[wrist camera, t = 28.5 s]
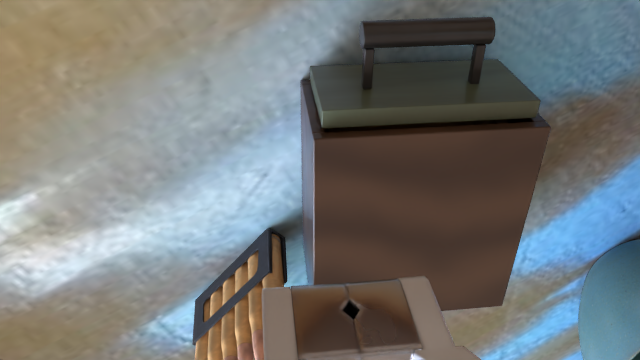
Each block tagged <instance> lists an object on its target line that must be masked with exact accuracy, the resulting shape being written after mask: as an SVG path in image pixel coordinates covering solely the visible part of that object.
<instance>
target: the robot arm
mask: <svg viewBox="0 0 640 360" xmlns="http://www.w3.org/2000/svg"><path fill="white" fill-rule="evenodd" d="M262 322H263V349H264V360H481V359H480V358H478V357H477V356H476V355H475V354H473V353H472V352H471V351H469V350H468V349H467V348H465V347H464V346H455V345H454V342H453V340H452V337H451V335H450V332H449V330H448V327H447V325H446V322H445V320H444V317H443V315H442V312H441V310H440V307H439V305H438V302H437V300H436V297H435V295H434V292H433V290H432V287H431V285H430V282H429V280H428V279H427V278H426V277H425V276H417V277H405V278H398V279H396V278H394V279H383V280H371V281H360V282H348V283H340V284H322V285H303V286H291V289H290V287H276V288H262Z"/></svg>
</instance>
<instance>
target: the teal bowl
mask: <svg viewBox="0 0 640 360" xmlns="http://www.w3.org/2000/svg"><path fill="white" fill-rule="evenodd" d="M578 330H579V340H580V347H581V352H582V356H583V360H640V239H638V240H633V241H629V242H626V243H623V244H621V245H619V246H617V247H615V248H613V249H611V250H610V251H608V252H607V253H605V254H604V255H603V256H602V257H600V258H599V259H598V260H597V261H596V262H595V264H594V265H593V266H592V268H591V269H590V271H589V273H588V275H587V277H586V279H585V282H584V286H583V289H582V294H581V299H580V305H579V314H578Z"/></svg>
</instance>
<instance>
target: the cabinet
mask: <svg viewBox="0 0 640 360" xmlns="http://www.w3.org/2000/svg"><path fill="white" fill-rule="evenodd" d="M506 120H507V121H508V123H502V124H483V125H464V126H444V127H425V128H405V129H386V130H367V131H347V132H328V133H325V130H324V128H322V127H321V123H320V119H319V115H318V111H317V107H316V103H315V99H314V95H313V91H312V87H311V83H310V80H301V142H302V211H303V250H304V257H305V264H306V272H307V279H308V285H322V284H340V283H348V282H360V281H371V280H383V279H394V278H396V279H398V278H405V277H417V276H425V277H426V278H427V279H428V280H429V282H430V285H431V287H432V290H433V292H434V295H435V297H436V300H437V302H438V305H439V307H440V310H441V311H446V310H458V309H470V308H481V307H493V306H502V304H503V300H504V297H505V293H506V289H507V286H508V282H509V278H510V275H511V271H512V268H513V264H514V260H515V257H516V253H517V249H518V246H519V242H520V238H521V235H522V231H523V228H524V224H525V220H526V217H527V213H528V209H529V206H530V202H531V199H532V195H533V191H534V188H535V184H536V180H537V177H538V173H539V170H540V166H541V162H542V159H543V155H544V151H545V148H546V144H547V141H548V137H549V133H550V130H551V126H550V125H549V124H548V123H547V122H545V120H544V119H543V118H542V117H541V116H540V115H539V114H538V113H537V117H536V118H518V119H506Z"/></svg>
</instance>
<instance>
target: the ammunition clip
mask: <svg viewBox="0 0 640 360" xmlns="http://www.w3.org/2000/svg"><path fill="white" fill-rule="evenodd" d="M286 282H287V263H286V245H285V237H283V236H281V235H280V234H278V233H276V232H275V231H273V230H271V229H266V230H265V231H264V232H263V233H262V234H261V235H260V236H259V237H258V238H257V239H256V240H255V241H254V242H253V243H252V244H251V245H250V246H249V247H248V248H247V249H246V250H245V251H244V252H243V253H242V254H241V255H240V256H239V257H238V258H237V259H236V260H235V261H234V262H233V263H232V264H231V265H230V266H229V267H228V268H227V269H226V270H225V271H224V272H223V273H222V274H221V275H220V276H219V277H218V278H217V279H216V280H215V281H214V282H213V283H212V284H211V285H210V286H209V287H208V288H207V289H206V290H205V291H204V292H203V293H202V294H201V295H200V296H199V297H198V298H197V299H196V300H195V314H194V329H193V345H196V352H195V360H253V358H254V356H255V359H256V360H264V349H263V322H262V288H276V287H284V284H285V283H286Z"/></svg>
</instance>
